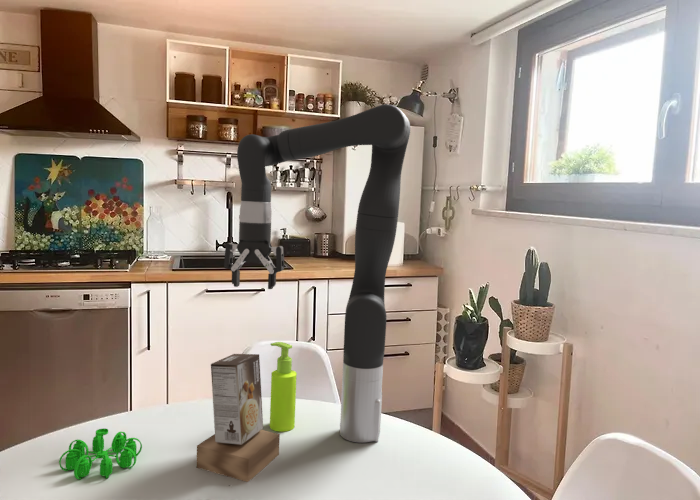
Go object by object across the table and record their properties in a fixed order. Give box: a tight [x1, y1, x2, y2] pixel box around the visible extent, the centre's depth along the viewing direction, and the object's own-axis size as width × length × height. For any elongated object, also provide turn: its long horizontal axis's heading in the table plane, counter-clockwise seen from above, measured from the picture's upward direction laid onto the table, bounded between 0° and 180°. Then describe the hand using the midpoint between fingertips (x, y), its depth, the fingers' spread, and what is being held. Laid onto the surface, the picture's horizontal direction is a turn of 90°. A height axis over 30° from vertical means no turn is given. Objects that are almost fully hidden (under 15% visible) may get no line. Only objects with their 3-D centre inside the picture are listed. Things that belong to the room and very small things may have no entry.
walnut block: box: [196, 429, 281, 483], centre depth 110 cm, size 12×12×5 cm
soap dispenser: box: [269, 341, 297, 433], centre depth 126 cm, size 6×7×20 cm
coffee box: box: [210, 353, 264, 445], centre depth 110 cm, size 9×6×16 cm
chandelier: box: [58, 428, 143, 480], centre depth 106 cm, size 15×15×7 cm
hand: (253, 287), depth 129 cm, fingers open, 8 cm apart
